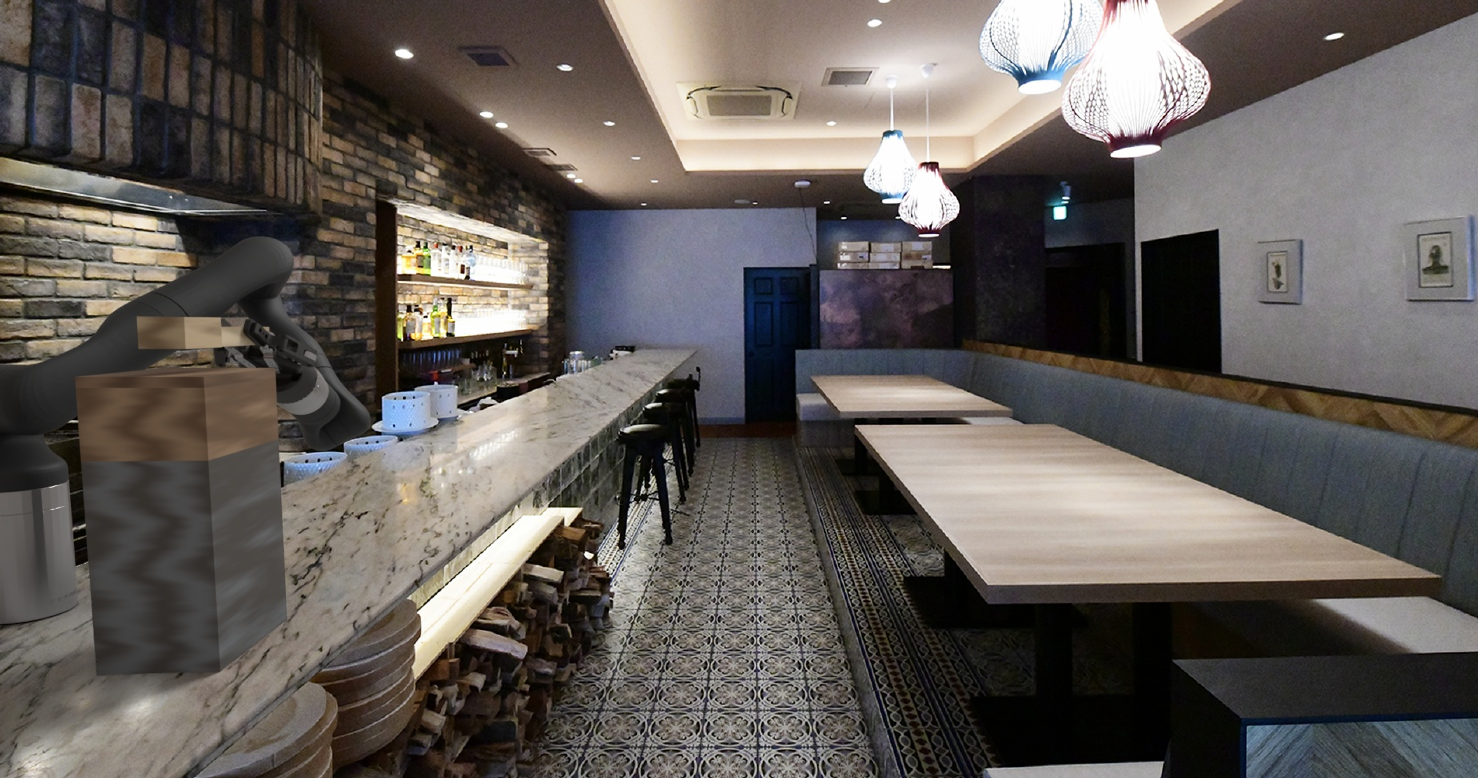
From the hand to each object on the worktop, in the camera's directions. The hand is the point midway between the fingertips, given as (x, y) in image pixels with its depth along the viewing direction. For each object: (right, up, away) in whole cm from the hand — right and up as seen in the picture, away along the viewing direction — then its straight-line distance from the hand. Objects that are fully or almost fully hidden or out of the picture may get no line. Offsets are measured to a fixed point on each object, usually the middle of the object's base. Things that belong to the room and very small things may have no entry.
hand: (233, 325), depth 99 cm
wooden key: (0, -3, -4) cm, 5 cm away
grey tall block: (+1, -39, -7) cm, 40 cm away
